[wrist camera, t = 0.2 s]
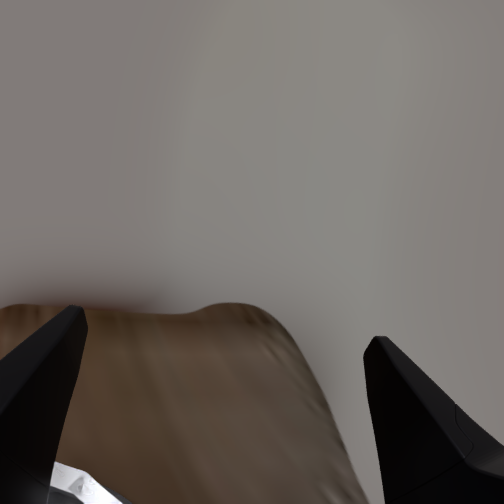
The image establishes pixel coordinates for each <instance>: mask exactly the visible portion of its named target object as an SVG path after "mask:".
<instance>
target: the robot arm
mask: <svg viewBox="0 0 504 504" xmlns="http://www.w3.org/2000/svg"><path fill="white" fill-rule="evenodd" d="M87 333H88V325H87V321H86V317H85V313H84V309H83V308H82V307H81V306H76V305H69V306H68V307H66V308H65V309H64V310H62V311H61V312H60V313H58V314H57V315H56V316H54V317H53V318H52V319H51V320H49V321H48V322H47V323H45V324H44V325H43V326H42V327H40V328H39V329H38V330H37V331H35V332H34V333H33V334H32V335H30V336H29V337H28V338H27V339H25V340H24V341H23V342H22V343H20V344H19V345H18V346H17V347H16V348H14V349H13V350H12V351H11V352H9V353H8V354H7V355H6V356H5V357H4V358H2V359H1V360H0V504H47V501H48V495H49V488H50V483H51V478H52V473H53V468H54V463H55V458H56V454H57V450H58V445H59V441H60V437H61V433H62V429H63V425H64V422H65V418H66V414H67V411H68V407H69V404H70V400H71V397H72V394H73V390H74V387H75V384H76V381H77V377H78V373H79V369H80V364H81V359H82V355H83V350H84V346H85V341H86V337H87ZM363 361H364V369H365V379H366V389H367V397H368V404H369V408H370V414H371V419H372V424H373V429H374V435H375V441H376V446H377V452H378V458H379V465H380V471H381V478H382V485H383V491H384V499H385V504H504V446H503V445H502V444H500V443H499V442H498V441H497V440H496V439H495V438H493V437H492V436H491V435H489V433H487V432H486V431H485V430H484V429H483V428H482V427H480V426H479V425H478V424H477V423H476V422H474V420H472V419H471V418H470V417H469V416H468V415H467V414H466V413H465V412H464V411H463V410H462V409H461V408H460V407H459V406H458V405H457V404H455V402H454V401H453V400H452V399H451V398H450V397H449V396H448V395H447V394H446V393H445V392H444V391H443V390H442V389H441V388H440V387H439V386H438V385H437V384H436V383H435V382H434V381H433V380H431V378H429V377H428V376H427V375H426V374H425V373H424V372H423V371H422V370H421V369H420V368H419V367H418V366H417V365H416V364H415V363H414V362H413V361H412V360H411V359H410V358H409V357H408V356H407V355H406V354H405V353H404V352H402V351H401V350H400V349H399V348H398V347H397V346H396V345H395V344H394V343H393V342H392V341H391V340H390V339H389V338H388V337H386V336H375V337H373V339H372V340H371V342H370V344H369V345H368V347H367V348H366V350H365V352H364V356H363Z"/></svg>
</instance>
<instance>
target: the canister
mask: <svg viewBox="0 0 504 504" xmlns="http://www.w3.org/2000/svg"><path fill="white" fill-rule="evenodd" d="M47 504H132V503H131V502H130V501H129V500H127V499H126V498H124V497H123V496H121V495H120V494H118V493H116V492H115V491H113V490H111V489H109V488H107V487H105V486H103V485H100V484H98V483H97V482H96V481H95V480H94V479H93V478H92V477H91V476H90V475H89V474H87V473H86V472H84V471H81V470H78V469H75V468H72V467H69V466H66V465H63V464H60V463H57V462H55V463H54V468H53V473H52V478H51V483H50V488H49V495H48V501H47Z"/></svg>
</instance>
